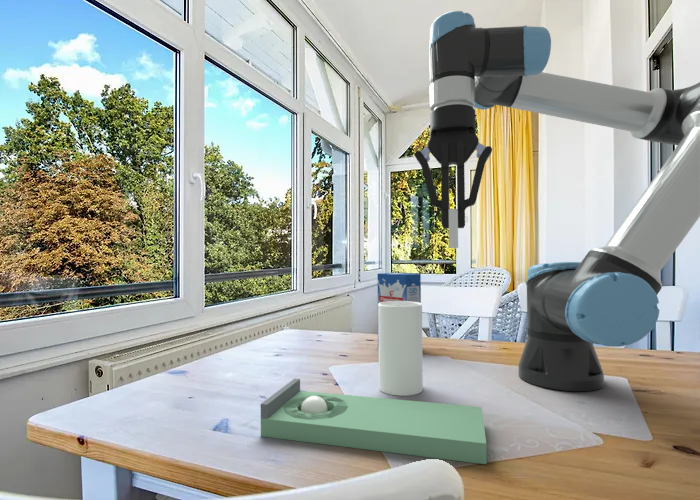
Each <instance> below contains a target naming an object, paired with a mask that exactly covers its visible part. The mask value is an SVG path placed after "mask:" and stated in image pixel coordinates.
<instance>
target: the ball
mask: <svg viewBox="0 0 700 500" xmlns="http://www.w3.org/2000/svg"><path fill="white" fill-rule="evenodd" d="M301 412H303V413H307V414H321V413H326V412H327V404H326V402H325V401H324V400H323V399H322V398H321V397H319V396H310V397H308V398H307V399H305V401H304V402H303V404H302V406H301Z"/></svg>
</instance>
